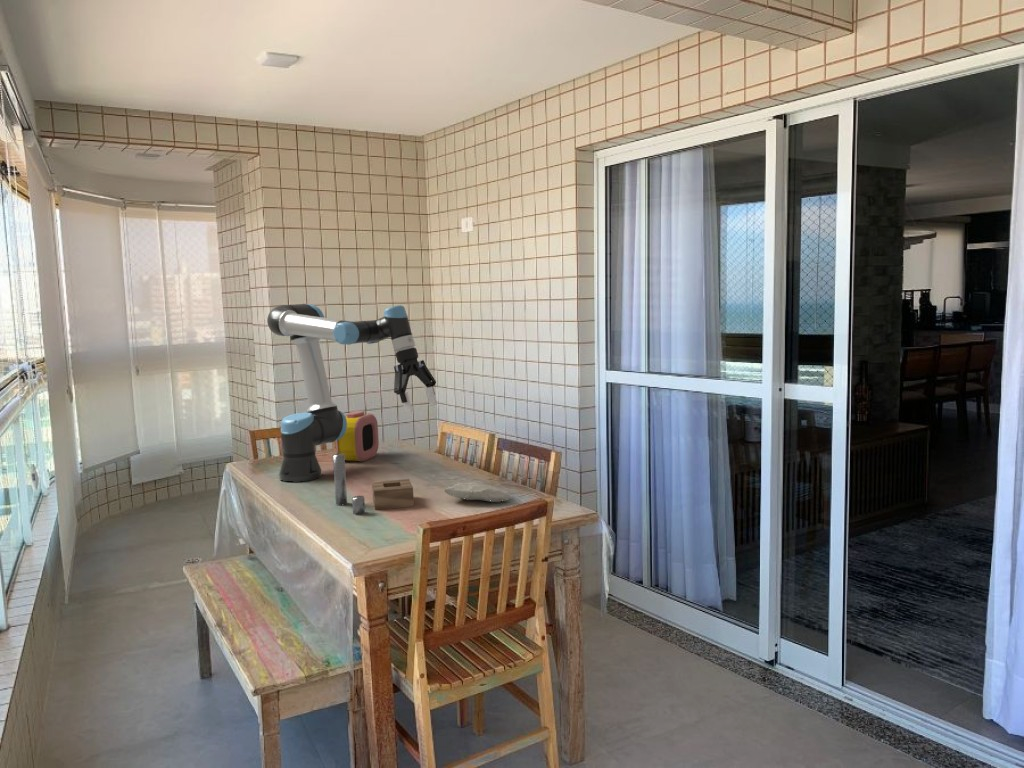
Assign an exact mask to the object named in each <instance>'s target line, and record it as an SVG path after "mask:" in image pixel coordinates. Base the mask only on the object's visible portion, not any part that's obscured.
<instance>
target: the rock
mask: <svg viewBox="0 0 1024 768" xmlns="http://www.w3.org/2000/svg"><path fill="white" fill-rule="evenodd" d="M471 491H472V492H471ZM444 492H445V494H447V495H449V496H453V497H455V498H460V499H462V500H465V499H466V500H465V501H485V502H489V503H493V502H499V503H501V502H500V501H502V500H503V501H502V502H507V501H509V499H511V494H510V493H509V492H508V491H506V490H503V489H499V488H497V487H494V486H493V485H491V484H488V483H486V482H483V481H480V480H477V481H469V482H461V483H455V484H454V485H450V486H447V487H446V488H445V489H444ZM464 498H465V499H464ZM490 500H491V501H490Z"/></svg>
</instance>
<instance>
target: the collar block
mask: <svg viewBox="0 0 1024 768" xmlns="http://www.w3.org/2000/svg"><path fill="white" fill-rule="evenodd" d="M371 488H372V489H371V491H372V503H373V506H374V510H375V511H378V509H379V510H389V509H398V508H407V507H408V508H409V507H414V506H415V503H414V499H415V498H414V487H413V485H412V482H411V481H410V478H403V479H392V480H380V481H379V480H378V481H372V482H371Z"/></svg>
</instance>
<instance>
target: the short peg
mask: <svg viewBox="0 0 1024 768" xmlns="http://www.w3.org/2000/svg"><path fill="white" fill-rule="evenodd" d="M351 500H352V514H353V515H354V514H355V516H361V514H362V515H364V513H365V514H366V508H365V507H366V504H365V495H364V496H363V495H355V496H353V497H352V499H351Z"/></svg>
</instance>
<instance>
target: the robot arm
mask: <svg viewBox="0 0 1024 768" xmlns="http://www.w3.org/2000/svg"><path fill="white" fill-rule="evenodd" d="M267 315H268V316H267V320H266V321H267V326H268V329H269V330H270V331H271V332H272V333H273V334H275V335H277V336H279V337H280V336H281V337H289V338H290V342H291V343H292V344H294V345H295V346H296V350H297V355H298V360H299V365H300V370H301V374H302V379H303V383H304V387H305V391H306V392H305V393H306V398H307V401H308V408H307V410H306V412H298V413H293V414H290V415H287V416H285V417H283V418H282V419H281V422H280V434H281V446H282V447H281V448H282V462H281V465H280V470H279V474H278V476H279V480H280V479H281V480H283V481H282V482H285V481H293V482H292V483H299V482H301V481H302V482H309V481H314V480H317V479H319V478H321V477H322V476H323V473H322V472H323V471H322V468H321V465H320V463H319V460H318V458H317V456H316V455H317V454H316V446H322V445H325V444H329V443H334V442H336V441H337V440H339V439H341V438H342V437H343V436H344V434H345V432H346V429H347V420H346V417H345V416H346V415H345V414H344V412H342V411H340V410H339V409H338V405H337V404H336V403H334V402H333V401H332V396H331V391H330V388H329V383H328V377H327V373H326V368H325V363H324V359H323V354H322V350H321V346H320V345H321V344H320V340H327V341H333V342H337V343H338V344H340V345H347V346H348V345H352V344H353V345H355V344H363V343H366V344H368V345H371V344H377V343H380V342H381V341H384V340H386V339H389V338H390V341H391V344H392V347H393V351H394V352H395V354H394V355H395V358H396V361H397V363H398V364H397V365H394V366H393V368H394V380H393V381H394V382H393V384H394V385H393V386H394V387H393V393H394V394H396V395H397V396H399V397H400V401H401V403H402V405H403V409H404V412H405V413H410V412H413V407H412V404H411V400H410V396H409V393H408V392H406V390H407V387H408V383H409V379H410V377H411V376H412V377H413V376H415V377H417V378H418V379H419V380H420V382H421V383H422V384H424V386H425V387H426V388H425V392H426V394H427V395H426V396H427V400H428V402H429V406H435V405H438V402H437V398H436V393H435V389H434V387H435V386H436V384H437V381H436V379H435V378H434V376H433V374H432V373H431V371H430V370H429V368H428V367H427V365H426V362H425V360H424V359H421V360H418V358H419V354H418V350H417V348H416V347H415V346H416V343H415V341H414V340H415V339H414V336H413V332H412V329H411V325H410V321H409V317H408V314H407V311H406V309H405V307H404V306H403V305H401V304H399V305H398V304H397V305H394V306H389V307H386V309H385V308H384V310H383V317H380V318H378V319H377V318H376V319H372V320H361V321H360V320H359V321H350V320H342V319H335V318H329V317H328V318H327V317H325V315H324V312H323V311H322V309H320V308H319V307H318V306H316V305H314V304H309V303H297V304H282V305H281V304H279V305H277V306H275V307H274V308H272V309H271V310H270V311H269V313H268V314H267ZM281 480H280V481H281Z"/></svg>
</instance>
